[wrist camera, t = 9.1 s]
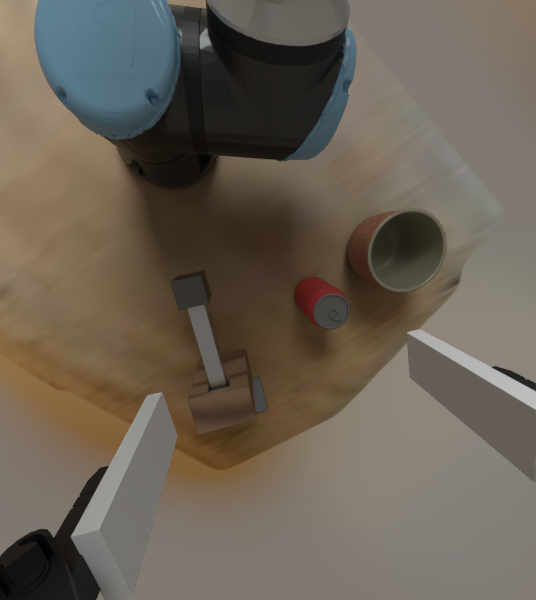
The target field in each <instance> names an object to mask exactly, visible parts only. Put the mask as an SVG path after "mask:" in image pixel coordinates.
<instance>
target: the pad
mask: <svg viewBox="0 0 536 600" xmlns="http://www.w3.org/2000/svg"><path fill="white" fill-rule="evenodd" d="M252 382H253V391H254V400H255V409H256V413H258V412H262V411H266V410H267V405H266V401H265V397H264V393H263V388H262V384H261V380H260V376H259V377H255V378H252Z"/></svg>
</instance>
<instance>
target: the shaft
mask: <svg viewBox="0 0 536 600" xmlns="http://www.w3.org/2000/svg"><path fill="white" fill-rule="evenodd" d="M171 285H172V288H173V292H174V295H175V298H176V301H177V305H178V308H179V310H183V309H188V312H189V316H190V319H191V322H192V326H193V329H194V333H195V336H196V339H197V343H198V346H199V349H200V353H201V356H202V359H203V363H204V366H205V370H206V373H207V376H208V380H209V383H210V386H211V390H216V389H220V388H224V387H228V386H229V382H228V379H227V375H226V371H225V368H224V364H223V360H222V357H221V353H220V350H219V346H218V342H217V339H216V335H215V331H214V328H213V324H212V321H211V317H210V313H209V310H208V306H207V304H208V303H209V301H210V298H211V292H210V288H209V284H208V281H207V277H206V273H205V270H203V271H199V272H194V273H189V274H185V275H180V276H178V277H176V278H175V279H174V280H173V281H171Z"/></svg>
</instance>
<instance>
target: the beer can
mask: <svg viewBox="0 0 536 600" xmlns="http://www.w3.org/2000/svg"><path fill="white" fill-rule="evenodd" d="M294 297H295V302H296V303H297V305H298V307H299V308H300V309H301V310H302V311H303V313H304V314H305V315H306V316H307V317H308V319H309V320H310V321H311V322H312V323H313V324H315V325H316V326H319V327H321V328H325V329H336V328H338V327H340V326H342V325H343V324H344V323H345V322H346V321H347V319H348V317H349V313H350V307H349V303H348V301H347V299H346V297H345V295H344V294H343V293H342V292H341V291H340V290H338V289H337V288H335V287H333V286H331V285H330V284H328V283H326V282H325V281H323V280H321V279H319V278H315V277H310V278H306V279H304V280H303V281H301V282H300V283H299V284H298V285H297V287H296V289H295V294H294Z"/></svg>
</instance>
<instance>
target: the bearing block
mask: <svg viewBox="0 0 536 600" xmlns="http://www.w3.org/2000/svg"><path fill="white" fill-rule="evenodd" d="M221 357H222V360H223V364H224V368H225V371H226V375H227V379H228V382H229V386H228V387H224V388H220V389H216V390H211V386H210V383H209V380H208V376H207V373H206V370H205V366H204V363H203V360H200V361H199V364H198V367H197V371H196V374H195V378H194V382H193V385H192V389H191V392H190V396H189V399H188V403H189V406H190V409H191V412H192V415H193V418H194V421H195V424H196V427H197V430H198V433H199V434H203V433H207V432H211V431H215V430H219V429H223V428H227V427H231V426H234V425H238V424H242V423H246V422H250V421H254V420H257V419H256V409H255V400H254V391H253V382H252V375H251V371H250V367H249V363H248V359H247V355H246V351H245V350H241V351H237V352H233V353H229V354H225V355H221Z"/></svg>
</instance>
